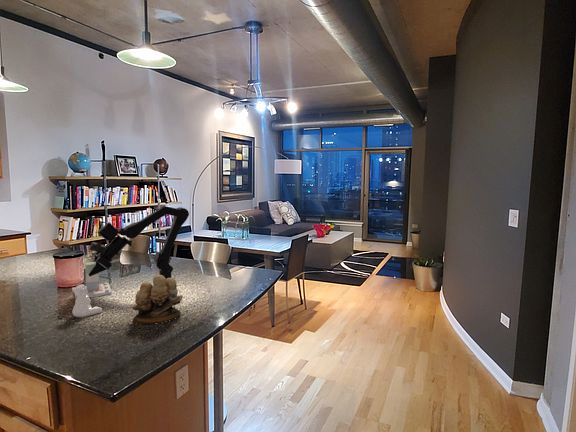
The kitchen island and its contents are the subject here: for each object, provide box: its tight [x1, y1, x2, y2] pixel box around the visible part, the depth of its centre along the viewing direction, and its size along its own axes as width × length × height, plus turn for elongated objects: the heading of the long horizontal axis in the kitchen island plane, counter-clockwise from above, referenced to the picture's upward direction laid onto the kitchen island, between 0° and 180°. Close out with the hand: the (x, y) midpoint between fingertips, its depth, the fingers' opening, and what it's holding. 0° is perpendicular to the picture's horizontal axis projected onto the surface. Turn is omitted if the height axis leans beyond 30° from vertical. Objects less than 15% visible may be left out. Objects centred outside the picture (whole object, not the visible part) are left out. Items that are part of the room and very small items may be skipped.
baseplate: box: [74, 282, 112, 300], centre depth 161 cm, size 14×14×2 cm
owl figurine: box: [131, 273, 183, 325], centre depth 133 cm, size 18×12×17 cm, turn 120°
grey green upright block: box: [85, 261, 100, 291], centre depth 160 cm, size 5×5×12 cm
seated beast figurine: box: [71, 284, 103, 318], centre depth 134 cm, size 10×9×12 cm
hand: (88, 273), depth 159 cm, fingers open, 9 cm apart
